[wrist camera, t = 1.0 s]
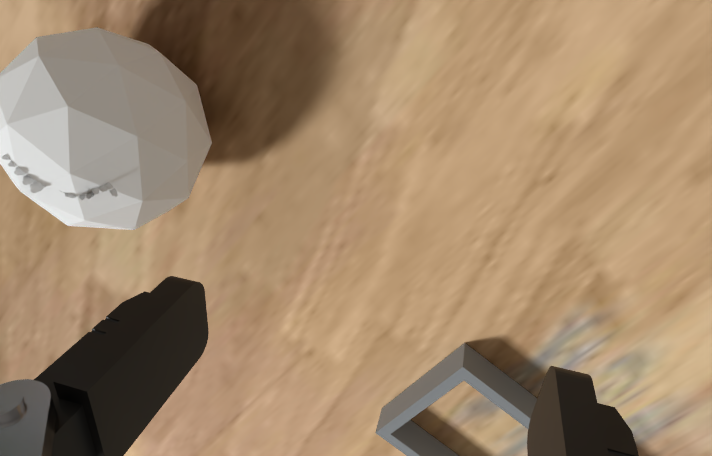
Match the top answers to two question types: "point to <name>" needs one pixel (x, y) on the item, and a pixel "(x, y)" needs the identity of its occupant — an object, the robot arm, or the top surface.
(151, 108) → the geodesic sphere
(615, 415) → the robot arm
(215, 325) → the top surface
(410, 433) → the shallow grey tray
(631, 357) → the top surface
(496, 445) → the top surface
